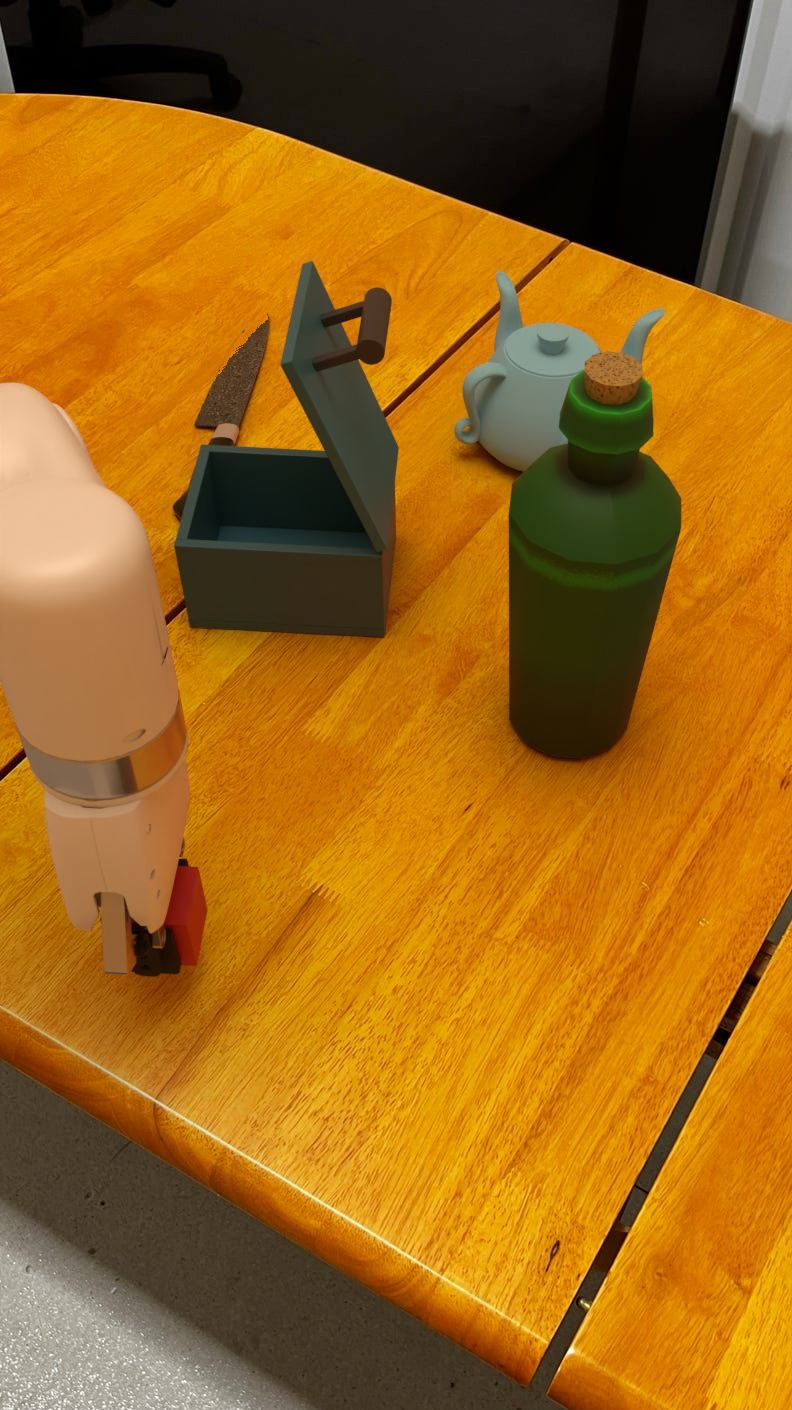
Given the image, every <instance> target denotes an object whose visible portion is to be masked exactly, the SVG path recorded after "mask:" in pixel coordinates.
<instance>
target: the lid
mask: <svg viewBox="0 0 792 1410" xmlns="http://www.w3.org/2000/svg"><path fill="white" fill-rule="evenodd" d="M392 300H393V299H392V295H391V294H390V293H389V291H388V290H386V289H385V288H383V287H378V286H376V287H372V288H370V289H368V290H367V291H366V293H365V294H364V298H363V300H361V301H359V302H355V303H352V304H350V305H345V306H343V307H340V308H337V309H336V308H335V307H334V303H333V302H332V299H331V298H330V295H329V293H328V290H327V289H326V287H325V283H324V282H323V280H322V278H321V276H320V274H319V272H318V269H317V267H316V265H315V262H314V261H313V260H310V261H307V262H303V263H302V264H301V268H300V273H299V278H298V282H297V286H296V291H295V296H294V300H293V303H292V308H291V312H290V313H291V314H290V317H289V322H288V327H287V332H286V335H285V336H286V337H285V342H284V345H283V350H282V355H281V359H280V364H279V365H280V367H281V369H282V371H283V373H284V375H285V377H286V378H287V380H288V383H289V384H290V386H291V389H292V391H293V392H294V394H295V396H296V398H297V400H298V403H299V404H300V406H301V408H302V410H303V411H304V413H305V415H306V417H307V419H308V422H309V423H310V426H311V428H312V429H313V431H314V433H315V435H316V437H317V439H318V441H319V443H320V445H321V447H322V449H323V451H325V452H326V454H327V456H328V458H329V460H330V462H331V464H332V466H333V468H334V470H335V472H336V474H337V476H338V478H339V480H340V481H341V483H342V485H343V487H344V489H345V491H346V493H347V495H348V497H349V499H350V501H351V503H352V505H353V507H354V509H355V511H356V512H357V514H358V516H359V518H360V520H361V522H362V524H363V526H364V528H365V530H366V532H367V534H368V536H369V538H370V540H371V542H372V543H373V545H374V547H375V549H376V551H377V552H380V551H384V550H387V545H388V536H389V528H390V519H391V511H392V502H393V494H394V485H395V486H396V476H397V469H398V466H397V465H398V459H399V451H400V447H399V444H398V442H397V440H396V438H395V436H394V434H393V431H392V429H391V427H390V425H389V422H388V421H387V419H386V416H385V415H384V414H385V413H384V412H383V410H382V408H381V405H380V403H379V401H378V399H377V397H376V395H375V393H374V391H373V388H372V386H371V384H370V381H369V380H368V377H367V376H366V373H365V371H364V368H363V367H362V365H361V363H364V364H366V365H371V366H373V365H378V364H380V363H381V362H382V361H383V359H384V358H385V356H386V355H385V354H386V348H387V341H388V332H389V327H390V320H391V319H390V318H391V311H392V305H393V304H392V303H393V302H392ZM358 318H360V324H359V328H358V336H357V340H356V344H353V345H352V343H351V341H350V338H349V337H348V334H347V332H346V329H345V328H344V325H343V323H346V322H349V321H352V320H356V319H358Z"/></svg>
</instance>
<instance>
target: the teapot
mask: <svg viewBox="0 0 792 1410" xmlns="http://www.w3.org/2000/svg"><path fill="white" fill-rule="evenodd" d="M495 281H496V285H497V288H498V292H499V301H500V303H499V315H498V321H497V325H496V330H495V335H494V341H493V342H494V343H493V354H492V355H491V356H489V359H488V360H487V361H486V362H484V363H481V364H479V365H477V366H475V367H473V368H472V369H471V370H469V372H468V373H467V374H466V375H465V377H464V379H463V382H462V387H461V388H462V391H461V392H462V398H463V404H464V406H465V410H466V414H467V416H468V417H462V418H459V420H457V422H456V423H455V425H454V428H453V433H454V436H455V439H456V440H457V441H458V442H460V443H461V444H465V445H472V444H475V443H477V442H479V443H480V445H481V447H483V449H484V450H486V451H487V452H488V453H489V454H490V455H491V456H492V457H493V458H494V459H496V460H497V461H498V462H500V463H501V464H503V465H504V466H507V467H508V468H510V469H513V470H515V471H518V472H522V473H523V472H524V471H525V470H526V469H527V468H528V467H529V466H530V465H531V464H532V463H533V462H535V461H536V460H537V459H538V458H539V457H540V456H541V455H542V454H544V453H545V452H546V451H547V450H548V449H549V448H551V447H555V446H559V445H563V444H567V443H568V439H567V438H566V437H565V435H564V434H563V433H562V432H561V430H560V429H559V419H560V412H561V409H562V406H563V403H564V400H565V397H566V394H567V391H568V388H569V385H570V382H571V380H572V379H573V378H574V377H575V376H576V375H577V374H579V373H580V372H581V371H582V370H584V368H585V361H586V360H588V359H589V358H590V357H591V356H592V355H594V354H598V353H602V352H603V351H602V349H601V348H600V347H599V345H598V343H596V341H595V340H594V339H593V338H592V337H591V336H590V335H589V334H587V333H586V332H584V331H582V330H580V329H578V328H576V327H574V326H571V325H567V324H563V323H559V322H541V323H534V324H529V325H526V326H524V323H523V318H522V317H523V316H522V313H521V308H520V303H519V299H518V293H517V290H516V286H515V285H514V283H513V280H512V279H511V278H510V276H509V275H508V274H507V273H506V272H504V271H502V270H498V271H496V273H495ZM665 314H666V309H665V308H656V309H652V310H650V311H648V312H646V313H645V314H643V315H642V316H640V317H639V318H638V319H637V320H636V321H635V323H634V324H633V326H632V327H631V329H630V331H629V332H628V335H627V337H626V338H625V341H624V344H623V345H622V348H621V349H620V351H619V353H624V354H626V355H629V356H631V357H634V358H636V360H637V361H638V362H639V363H640V364H641V365H642V366H643V359H644V352H645V346H646V342H647V339H648V337H649V336H650V335H649V334H650V332H651V331H652V329H653V328H654V326H655V325H656V324H657V323H659V321H660V320H661V319H662V318H663V317H664V316H665ZM466 428H468V429H467V430H465V429H466Z"/></svg>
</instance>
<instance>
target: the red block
mask: <svg viewBox="0 0 792 1410" xmlns="http://www.w3.org/2000/svg"><path fill="white" fill-rule="evenodd" d="M207 914H208V905H207V900H206V895H205V891H204V887H203V882H202V878H201V873H200V868H199V866H190V865H189V866H177V870H176V875H175V879H174V884H173V889H172V893H171V897H170V902H169V906H168V910H167V914H166V918H165V921H164V922H165V928H168V929H170V930H173V934H174V937H175V941H176V945H177V949H178V953H179V957H180V960H181V966H185V967H186V966H187V967H197V966H198V963H199V957H200V951H201V946H202V942H203V935H204V930H205V926H206V925H205V924H206V920H207ZM99 921H100V924H101V926H102V921H101V918H100V919H99ZM131 922H136V921H135V920H134V919H133V918H131ZM136 923H137V922H136Z"/></svg>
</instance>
